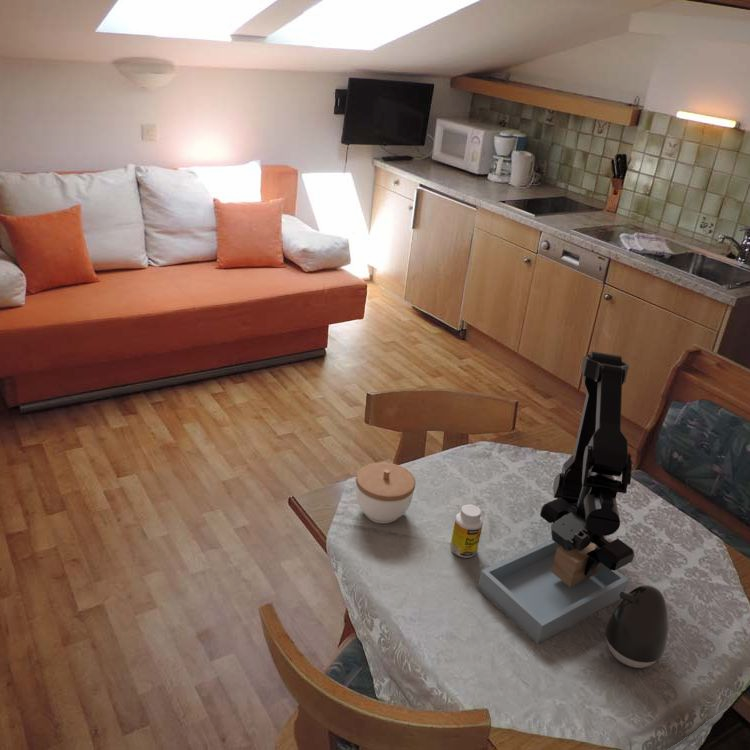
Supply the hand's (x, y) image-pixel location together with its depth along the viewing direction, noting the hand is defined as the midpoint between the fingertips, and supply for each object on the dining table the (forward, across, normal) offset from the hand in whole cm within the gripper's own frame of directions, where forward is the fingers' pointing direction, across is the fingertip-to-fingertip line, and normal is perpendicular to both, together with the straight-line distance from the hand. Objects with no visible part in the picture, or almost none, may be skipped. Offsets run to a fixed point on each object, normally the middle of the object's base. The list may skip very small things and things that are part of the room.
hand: (576, 566), depth 148 cm
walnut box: (+2, 0, 0) cm, 2 cm away
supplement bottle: (+4, -18, -13) cm, 23 cm away
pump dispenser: (+4, +18, -5) cm, 19 cm away
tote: (+4, 0, -6) cm, 7 cm away
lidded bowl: (+4, -36, -21) cm, 42 cm away
